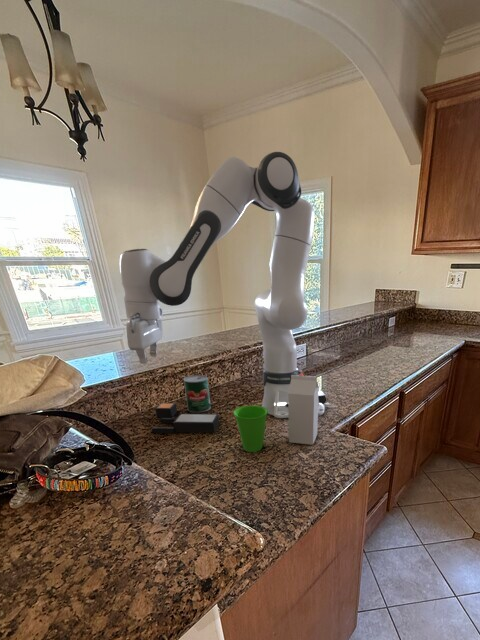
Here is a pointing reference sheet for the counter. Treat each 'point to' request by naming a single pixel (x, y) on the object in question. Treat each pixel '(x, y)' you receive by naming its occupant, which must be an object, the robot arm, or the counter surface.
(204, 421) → the dark grey stepped block
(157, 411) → the orange topped grey block
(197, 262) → the robot arm
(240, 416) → the cup
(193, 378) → the canned tomato
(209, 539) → the counter surface
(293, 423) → the milk carton
